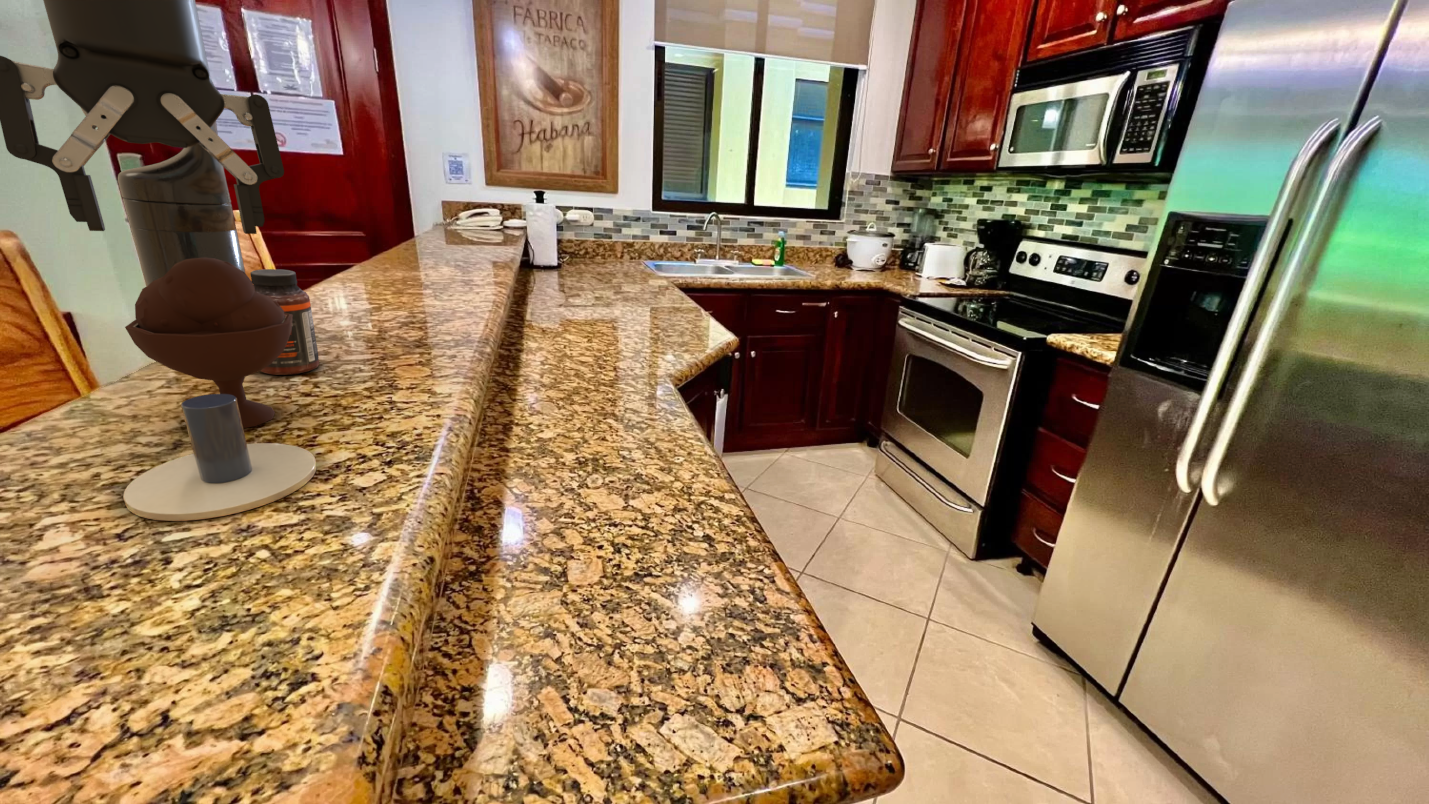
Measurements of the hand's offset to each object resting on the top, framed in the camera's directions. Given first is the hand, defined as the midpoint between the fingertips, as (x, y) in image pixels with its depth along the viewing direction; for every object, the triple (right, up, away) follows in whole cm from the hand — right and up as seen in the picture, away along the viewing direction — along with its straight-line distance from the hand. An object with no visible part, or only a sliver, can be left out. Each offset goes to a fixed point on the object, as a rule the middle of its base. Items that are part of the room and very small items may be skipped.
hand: (178, 231), depth 42 cm
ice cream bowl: (-4, -15, +9) cm, 18 cm away
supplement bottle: (-9, -9, +23) cm, 26 cm away
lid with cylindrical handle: (+4, -19, 0) cm, 20 cm away
